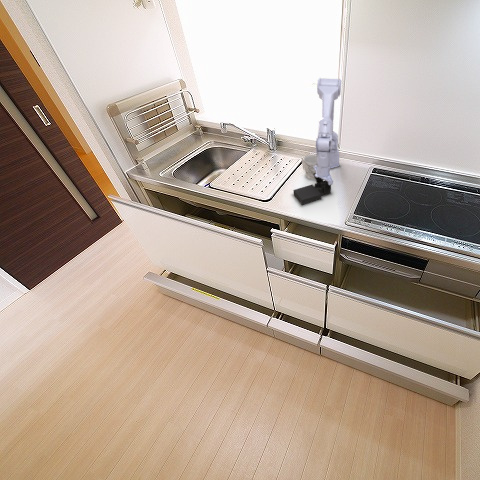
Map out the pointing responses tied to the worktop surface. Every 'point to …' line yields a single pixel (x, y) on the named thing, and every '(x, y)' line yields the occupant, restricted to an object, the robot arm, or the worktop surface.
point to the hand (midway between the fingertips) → (322, 190)
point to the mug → (309, 165)
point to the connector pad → (322, 189)
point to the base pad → (307, 194)
